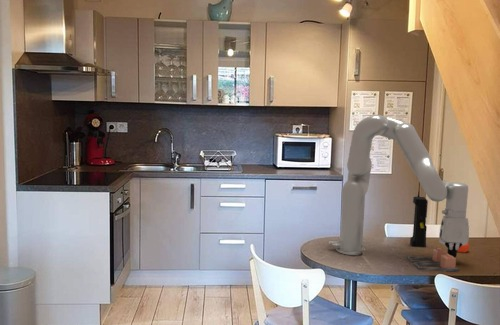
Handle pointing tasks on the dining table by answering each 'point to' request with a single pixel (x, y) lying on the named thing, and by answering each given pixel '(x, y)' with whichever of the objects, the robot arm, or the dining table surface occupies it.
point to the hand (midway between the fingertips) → (451, 258)
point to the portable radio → (419, 222)
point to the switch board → (429, 264)
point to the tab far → (438, 254)
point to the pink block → (447, 261)
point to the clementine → (463, 248)
